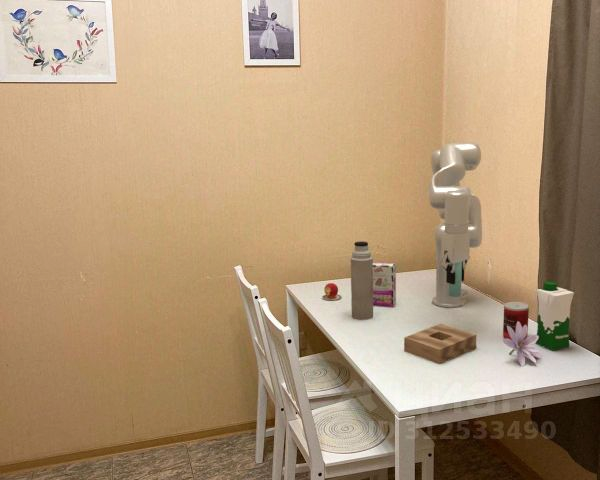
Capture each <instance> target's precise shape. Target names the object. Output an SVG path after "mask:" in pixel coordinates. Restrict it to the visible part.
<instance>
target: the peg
mask: <svg viewBox="0 0 600 480" xmlns="http://www.w3.org/2000/svg"><path fill="white" fill-rule="evenodd" d="M449 266H450V267H451V265H449ZM454 272H455V284H450V283H449V296H451V297H460V296H461V290H462V283H461V280H462V261H461V262H458V263H455V269H454Z"/></svg>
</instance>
